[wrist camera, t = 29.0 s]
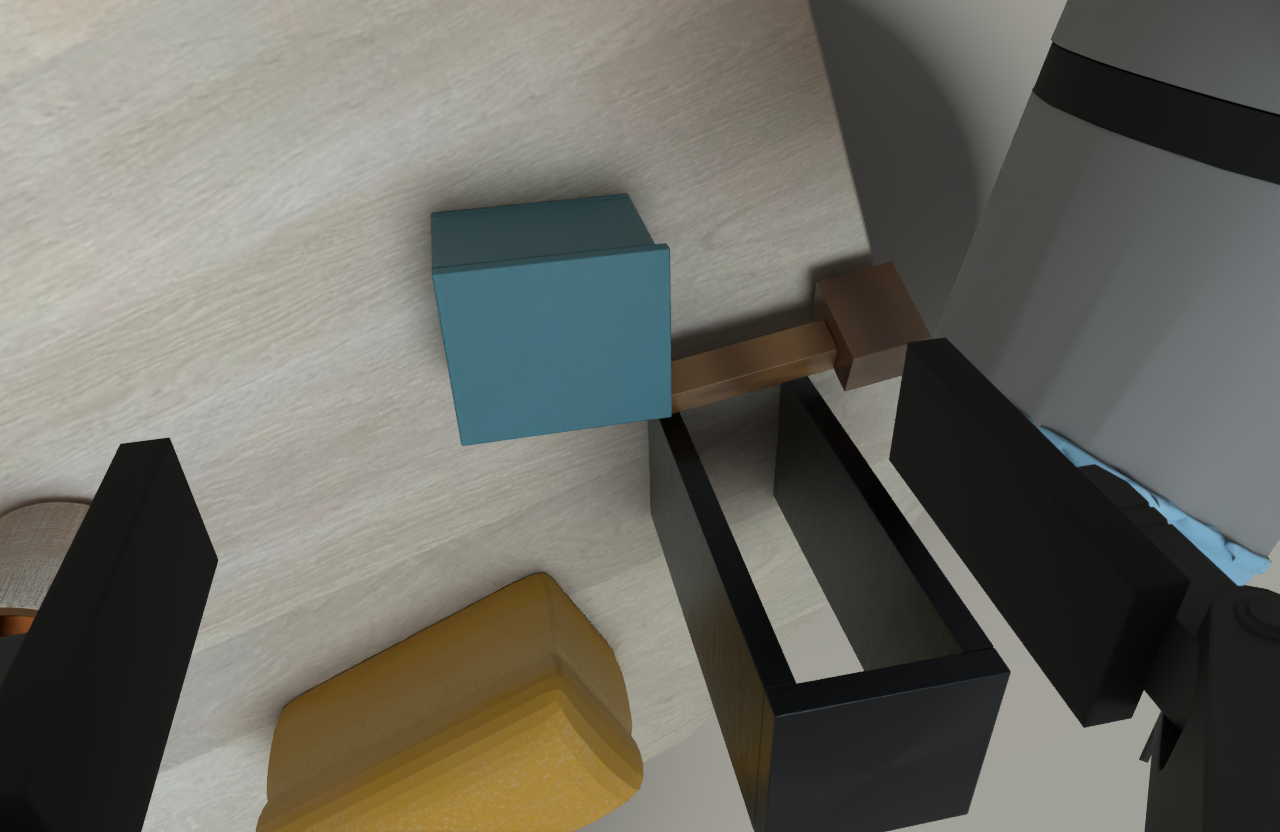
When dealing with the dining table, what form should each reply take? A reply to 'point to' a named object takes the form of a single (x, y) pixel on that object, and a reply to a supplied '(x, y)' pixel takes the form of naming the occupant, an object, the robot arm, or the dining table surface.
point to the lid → (557, 341)
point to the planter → (33, 558)
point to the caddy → (535, 230)
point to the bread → (463, 729)
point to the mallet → (814, 343)
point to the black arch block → (871, 619)
